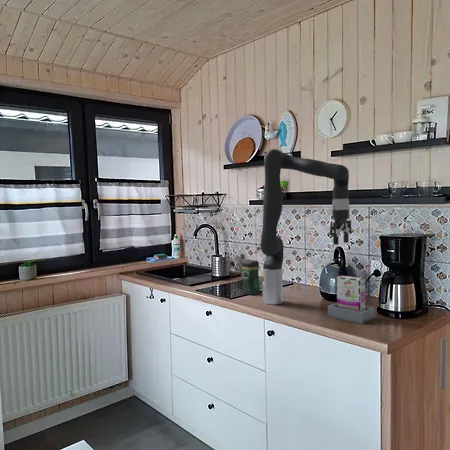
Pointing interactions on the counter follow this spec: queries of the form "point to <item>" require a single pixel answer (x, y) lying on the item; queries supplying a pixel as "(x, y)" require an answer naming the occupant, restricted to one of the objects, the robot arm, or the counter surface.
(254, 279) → the coffee jar
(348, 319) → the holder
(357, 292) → the candy bar box
